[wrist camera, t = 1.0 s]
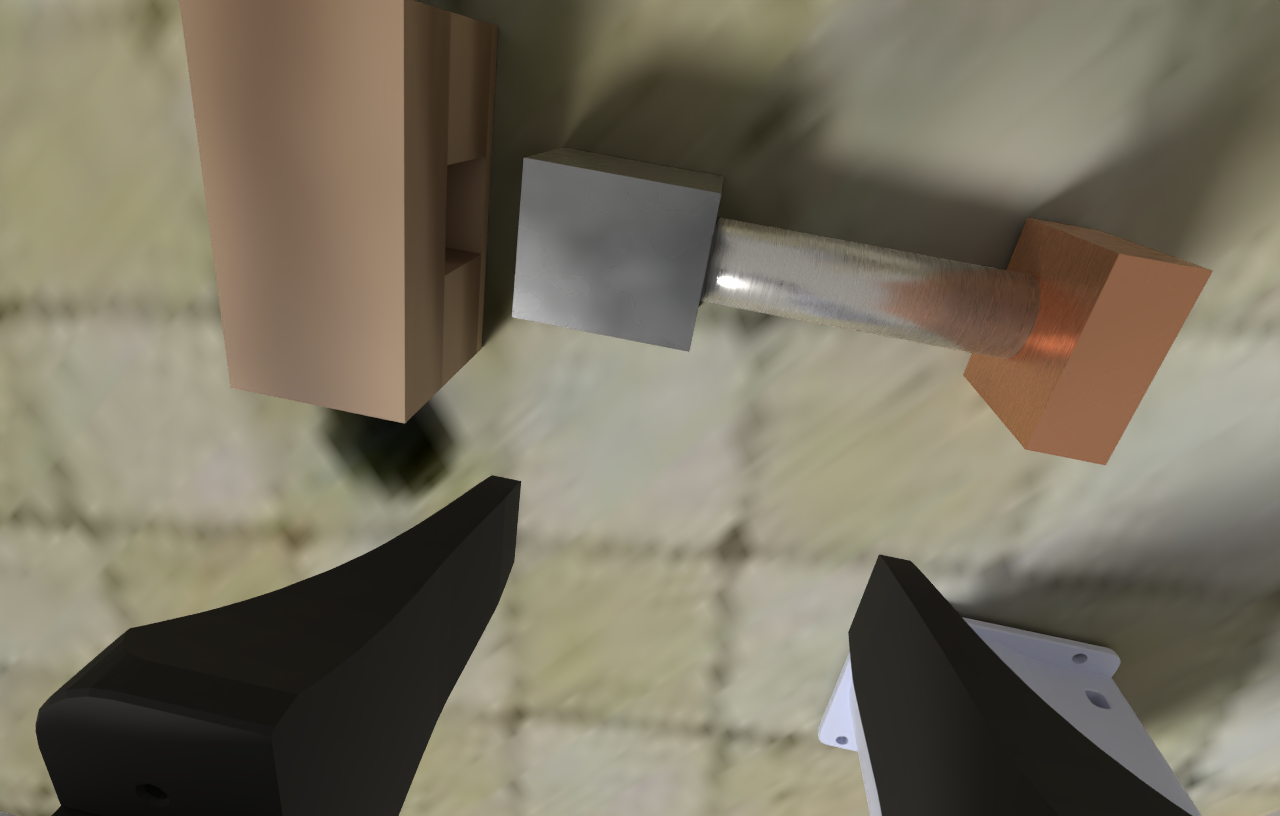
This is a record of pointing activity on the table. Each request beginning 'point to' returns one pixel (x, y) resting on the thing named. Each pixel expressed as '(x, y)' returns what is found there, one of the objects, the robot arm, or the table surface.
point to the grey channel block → (613, 245)
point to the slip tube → (988, 316)
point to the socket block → (345, 193)
